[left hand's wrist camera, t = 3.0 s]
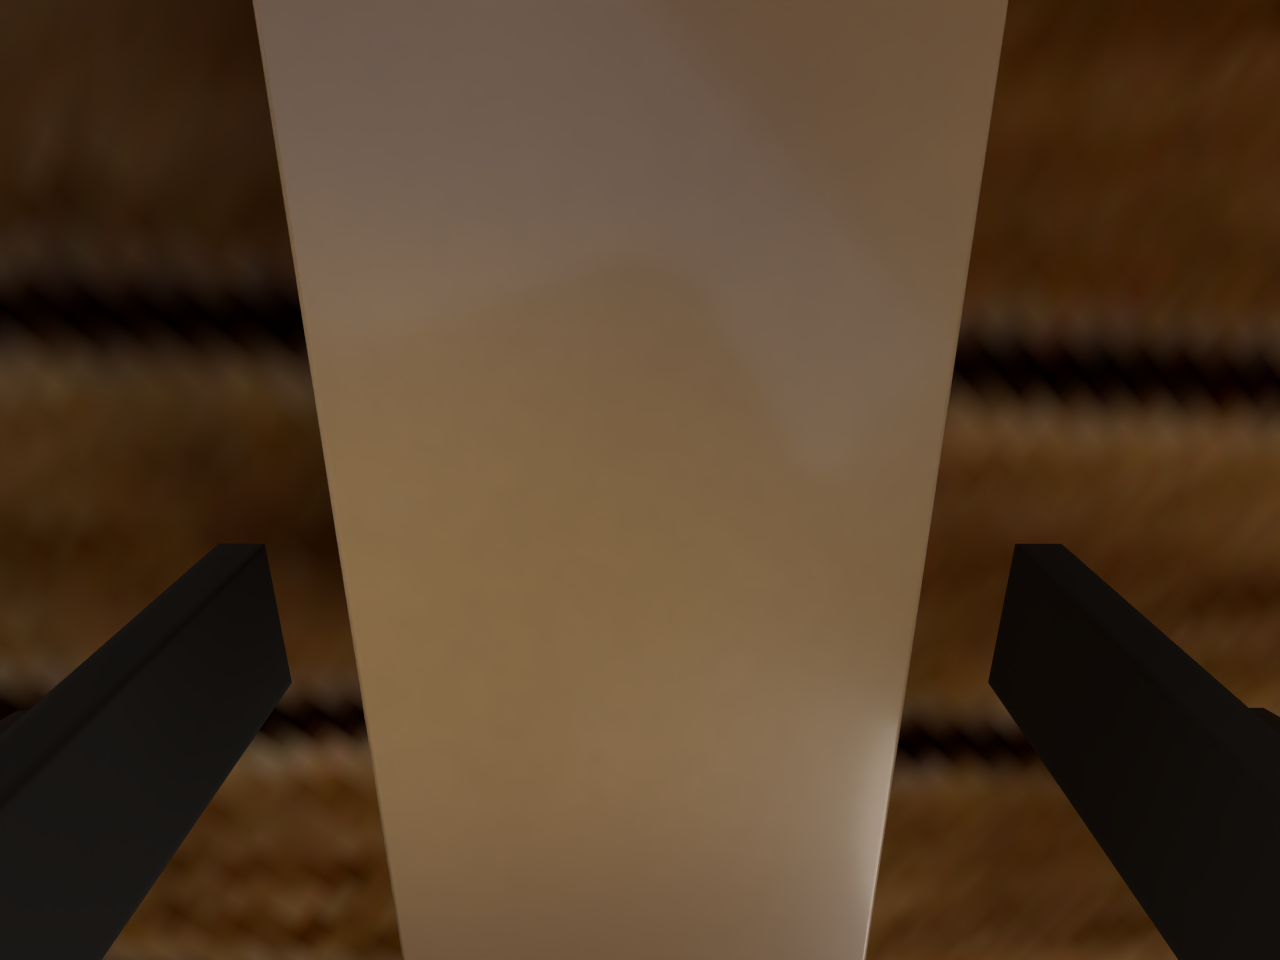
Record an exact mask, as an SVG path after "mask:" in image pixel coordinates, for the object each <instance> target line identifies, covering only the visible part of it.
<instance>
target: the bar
mask: <svg viewBox="0 0 1280 960" xmlns="http://www.w3.org/2000/svg"><path fill="white" fill-rule="evenodd" d="M252 1H253V7H254V13H255V20H256V26H257V33H258V39H259V45H260V52H261V58H262V64H263V71H264V77H265V84H266V90H267V96H268V103H269V109H270V116H271V122H272V128H273V135H274V141H275V147H276V154H277V160H278V167H279V173H280V179H281V186H282V192H283V199H284V205H285V211H286V218H287V224H288V230H289V237H290V243H291V250H292V256H293V262H294V269H295V275H296V281H297V288H298V294H299V301H300V307H301V313H302V320H303V326H304V333H305V339H306V345H307V352H308V358H309V364H310V371H311V377H312V384H313V390H314V396H315V403H316V409H317V415H318V422H319V428H320V435H321V441H322V447H323V454H324V460H325V467H326V473H327V479H328V486H329V492H330V498H331V505H332V511H333V518H334V524H335V530H336V537H337V543H338V549H339V556H340V562H341V569H342V575H343V581H344V588H345V594H346V601H347V607H348V613H349V620H350V626H351V632H352V639H353V645H354V652H355V658H356V664H357V671H358V677H359V683H360V690H361V696H362V703H363V709H364V715H365V722H366V728H367V735H368V741H369V747H370V754H371V760H372V766H373V773H374V779H375V786H376V792H377V798H378V805H379V811H380V817H381V824H382V830H383V837H384V843H385V849H386V856H387V862H388V869H389V875H390V881H391V888H392V894H393V900H394V907H395V913H396V920H397V926H398V932H399V939H400V945H401V952H402V958H403V960H866V954H867V947H868V940H869V933H870V927H871V920H872V913H873V907H874V900H875V893H876V886H877V880H878V873H879V866H880V860H881V853H882V846H883V839H884V833H885V826H886V819H887V813H888V806H889V799H890V792H891V786H892V779H893V772H894V766H895V759H896V752H897V745H898V739H899V732H900V725H901V718H902V712H903V705H904V698H905V692H906V685H907V678H908V671H909V665H910V658H911V651H912V645H913V638H914V631H915V624H916V618H917V611H918V604H919V598H920V591H921V584H922V577H923V571H924V564H925V557H926V551H927V544H928V537H929V530H930V524H931V517H932V510H933V504H934V497H935V490H936V483H937V477H938V470H939V463H940V456H941V450H942V443H943V436H944V430H945V423H946V416H947V409H948V403H949V396H950V389H951V383H952V376H953V369H954V362H955V356H956V349H957V342H958V336H959V329H960V322H961V315H962V309H963V302H964V295H965V289H966V282H967V275H968V268H969V262H970V255H971V248H972V241H973V235H974V228H975V221H976V215H977V208H978V201H979V194H980V188H981V181H982V174H983V168H984V161H985V154H986V147H987V141H988V134H989V127H990V121H991V114H992V107H993V100H994V94H995V87H996V80H997V74H998V67H999V60H1000V53H1001V47H1002V40H1003V33H1004V27H1005V20H1006V13H1007V6H1008V0H252Z"/></svg>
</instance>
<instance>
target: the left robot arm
mask: <svg viewBox="0 0 1280 960" xmlns="http://www.w3.org/2000/svg"><path fill="white" fill-rule="evenodd" d="M291 683H292V682H291V677H290V672H289V666H288V661H287V656H286V651H285V646H284V641H283V636H282V631H281V625H280V620H279V615H278V610H277V605H276V600H275V595H274V590H273V584H272V579H271V574H270V569H269V564H268V559H267V554H266V549H265V544H218V545H217V546H216V547H215V548H213V549H212V550H211V551H210V552H209V553H208V554H207V555H205V556H204V557H203V558H202V559H201V560H200V561H199V562H197V563H196V564H195V565H194V566H193V567H192V568H191V569H189V570H188V571H187V572H186V573H185V574H184V575H183V576H181V577H180V578H179V579H178V580H177V581H176V582H175V583H173V584H172V585H171V586H170V587H169V588H168V589H167V590H165V591H164V592H163V593H162V594H161V595H160V596H159V597H157V598H156V599H155V600H154V601H153V602H152V603H151V604H149V605H148V606H147V607H146V608H145V609H144V610H143V611H142V612H140V613H139V614H138V615H137V616H136V617H135V618H134V619H132V620H131V621H130V622H129V623H128V624H127V625H126V626H124V627H123V628H122V629H121V630H120V631H119V632H118V633H116V634H115V635H114V636H113V637H112V638H111V639H110V640H108V641H107V642H106V643H105V644H104V645H103V646H102V647H100V648H99V649H98V650H97V651H96V652H95V653H94V654H92V655H91V656H90V657H89V658H88V659H87V660H86V661H84V662H83V663H82V664H81V665H80V666H79V667H78V668H76V669H75V670H74V671H73V672H72V673H71V674H70V675H68V676H67V677H66V678H65V679H64V680H63V681H62V682H60V683H59V684H58V685H57V686H56V687H55V688H54V689H53V690H51V691H50V692H49V693H48V694H47V695H46V696H45V697H43V698H42V699H41V700H40V701H39V702H38V703H37V704H35V705H34V706H33V707H32V708H31V709H30V710H29V711H16V712H14V713H12V714H11V715H9V716H7V717H5V718H3V719H2V720H0V960H102V958H103V957H104V956H105V954H106V953H107V951H108V950H109V948H110V947H111V945H112V944H113V942H114V941H115V939H116V938H117V937H118V935H119V934H120V932H121V931H122V929H123V928H124V926H125V925H126V923H127V922H128V921H129V919H130V918H131V916H132V915H133V913H134V912H135V910H136V909H137V907H138V906H139V904H140V903H141V902H142V900H143V899H144V897H145V896H146V894H147V893H148V891H149V890H150V888H151V887H152V886H153V884H154V883H155V881H156V880H157V878H158V877H159V875H160V874H161V872H162V871H163V869H164V868H165V867H166V865H167V864H168V862H169V861H170V859H171V858H172V856H173V855H174V853H175V852H176V851H177V849H178V848H179V846H180V845H181V843H182V842H183V840H184V839H185V837H186V836H187V834H188V833H189V832H190V830H191V829H192V827H193V826H194V824H195V823H196V821H197V820H198V818H199V817H200V816H201V814H202V813H203V811H204V810H205V808H206V807H207V805H208V804H209V802H210V801H211V799H212V798H213V797H214V795H215V794H216V792H217V791H218V789H219V788H220V786H221V785H222V783H223V782H224V781H225V779H226V778H227V776H228V775H229V773H230V772H231V770H232V769H233V767H234V766H235V764H236V763H237V762H238V760H239V759H240V757H241V756H242V754H243V753H244V751H245V750H246V748H247V747H248V746H249V744H250V743H251V741H252V740H253V738H254V737H255V735H256V734H257V732H258V731H259V729H260V728H261V727H262V725H263V724H264V722H265V721H266V719H267V718H268V716H269V715H270V713H271V712H272V711H273V709H274V708H275V706H276V705H277V703H278V702H279V700H280V699H281V697H282V696H283V695H284V693H285V692H286V690H287V689H288V687H289V686H290V684H291ZM988 683H989V684H990V686H991V687H992V689H993V690H994V692H995V693H996V695H997V696H998V697H999V699H1000V700H1001V702H1002V703H1003V705H1004V706H1005V708H1006V709H1007V711H1008V712H1009V713H1010V715H1011V716H1012V718H1013V719H1014V721H1015V722H1016V724H1017V725H1018V727H1019V728H1020V730H1021V731H1022V732H1023V734H1024V735H1025V737H1026V738H1027V740H1028V741H1029V743H1030V744H1031V746H1032V747H1033V748H1034V750H1035V751H1036V753H1037V754H1038V756H1039V757H1040V759H1041V760H1042V762H1043V763H1044V765H1045V766H1046V767H1047V769H1048V770H1049V772H1050V773H1051V775H1052V776H1053V778H1054V779H1055V781H1056V782H1057V783H1058V785H1059V786H1060V788H1061V789H1062V791H1063V792H1064V794H1065V795H1066V797H1067V798H1068V800H1069V801H1070V802H1071V804H1072V805H1073V807H1074V808H1075V810H1076V811H1077V813H1078V814H1079V816H1080V817H1081V818H1082V820H1083V821H1084V823H1085V824H1086V826H1087V827H1088V829H1089V830H1090V832H1091V833H1092V835H1093V836H1094V837H1095V839H1096V840H1097V842H1098V843H1099V845H1100V846H1101V848H1102V849H1103V851H1104V852H1105V853H1106V855H1107V856H1108V858H1109V859H1110V861H1111V862H1112V864H1113V865H1114V867H1115V868H1116V870H1117V871H1118V872H1119V874H1120V875H1121V877H1122V878H1123V880H1124V881H1125V883H1126V884H1127V886H1128V887H1129V888H1130V890H1131V891H1132V893H1133V894H1134V896H1135V897H1136V899H1137V900H1138V902H1139V903H1140V905H1141V906H1142V907H1143V909H1144V910H1145V912H1146V913H1147V915H1148V916H1149V918H1150V919H1151V921H1152V922H1153V923H1154V925H1155V926H1156V928H1157V929H1158V931H1159V932H1160V934H1161V935H1162V937H1163V938H1164V940H1165V941H1166V942H1167V944H1168V945H1169V947H1170V948H1171V950H1172V951H1173V953H1174V954H1175V956H1176V957H1177V958H1178V960H1280V717H1279V716H1277V715H1275V714H1273V713H1271V712H1270V711H1268V710H1266V709H1264V708H1248V707H1247V706H1246V705H1245V704H1243V703H1242V702H1241V701H1240V700H1239V699H1238V698H1237V697H1235V696H1234V695H1233V694H1232V693H1231V692H1230V691H1229V690H1227V689H1226V688H1225V687H1224V686H1223V685H1222V684H1221V683H1219V682H1218V681H1217V680H1216V679H1215V678H1214V677H1213V676H1211V675H1210V674H1209V673H1208V672H1207V671H1206V670H1205V669H1204V668H1202V667H1201V666H1200V665H1199V664H1198V663H1197V662H1196V661H1194V660H1193V659H1192V658H1191V657H1190V656H1189V655H1188V654H1186V653H1185V652H1184V651H1183V650H1182V649H1181V648H1180V647H1178V646H1177V645H1176V644H1175V643H1174V642H1173V641H1172V640H1170V639H1169V638H1168V637H1167V636H1166V635H1165V634H1164V633H1162V632H1161V631H1160V630H1159V629H1158V628H1157V627H1156V626H1154V625H1153V624H1152V623H1151V622H1150V621H1149V620H1148V619H1146V618H1145V617H1144V616H1143V615H1142V614H1141V613H1140V612H1138V611H1137V610H1136V609H1135V608H1134V607H1133V606H1132V605H1130V604H1129V603H1128V602H1127V601H1126V600H1125V599H1124V598H1122V597H1121V596H1120V595H1119V594H1118V593H1117V592H1116V591H1115V590H1113V589H1112V588H1111V587H1110V586H1109V585H1108V584H1107V583H1105V582H1104V581H1103V580H1102V579H1101V578H1100V577H1099V576H1097V575H1096V574H1095V573H1094V572H1093V571H1092V570H1091V569H1089V568H1088V567H1087V566H1086V565H1085V564H1084V563H1083V562H1081V561H1080V560H1079V559H1078V558H1077V557H1076V556H1075V555H1073V554H1072V553H1071V552H1070V551H1069V550H1068V549H1067V548H1065V547H1064V546H1063V545H1062V544H1015V548H1014V554H1013V559H1012V564H1011V569H1010V574H1009V579H1008V584H1007V589H1006V595H1005V600H1004V605H1003V610H1002V615H1001V620H1000V625H999V630H998V636H997V641H996V646H995V651H994V656H993V661H992V666H991V671H990V677H989V682H988Z"/></svg>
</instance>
